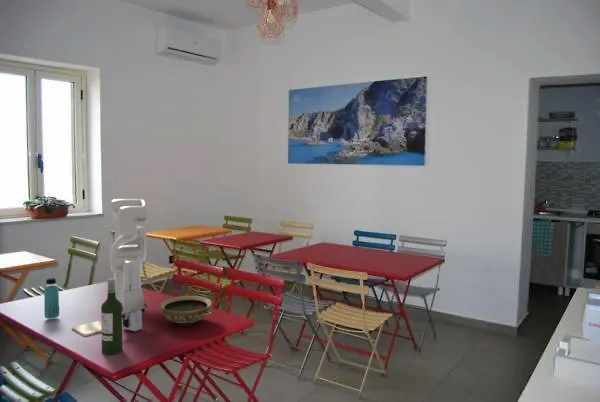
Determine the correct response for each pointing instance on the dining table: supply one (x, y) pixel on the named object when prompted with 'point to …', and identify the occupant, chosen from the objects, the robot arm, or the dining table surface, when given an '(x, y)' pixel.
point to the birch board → (88, 328)
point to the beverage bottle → (51, 299)
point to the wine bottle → (111, 322)
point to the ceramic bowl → (186, 309)
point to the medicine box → (134, 320)
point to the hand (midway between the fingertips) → (132, 324)
